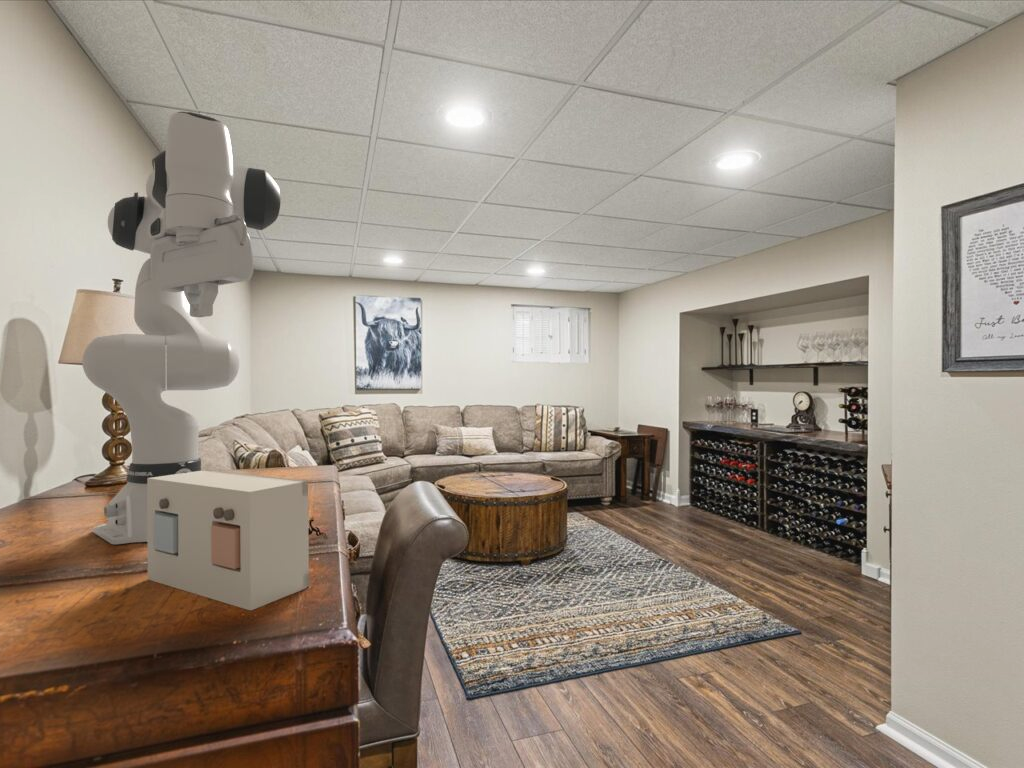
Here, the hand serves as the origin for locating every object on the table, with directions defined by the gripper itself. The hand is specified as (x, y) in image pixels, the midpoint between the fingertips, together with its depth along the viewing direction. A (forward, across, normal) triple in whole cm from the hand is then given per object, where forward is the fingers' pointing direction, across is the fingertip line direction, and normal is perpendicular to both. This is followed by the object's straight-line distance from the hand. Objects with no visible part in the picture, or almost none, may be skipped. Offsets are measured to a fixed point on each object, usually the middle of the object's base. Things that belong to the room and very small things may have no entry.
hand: (201, 316), depth 79 cm
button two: (+34, -12, +1) cm, 36 cm away
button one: (+34, +2, +1) cm, 34 cm away
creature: (+39, +2, -21) cm, 44 cm away
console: (+39, -5, 0) cm, 39 cm away
